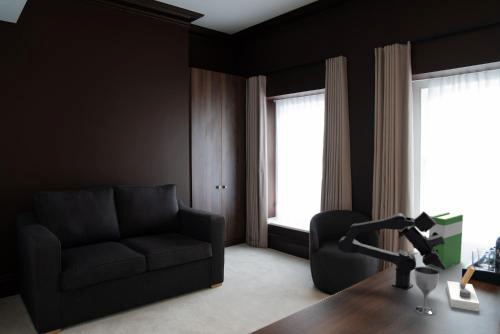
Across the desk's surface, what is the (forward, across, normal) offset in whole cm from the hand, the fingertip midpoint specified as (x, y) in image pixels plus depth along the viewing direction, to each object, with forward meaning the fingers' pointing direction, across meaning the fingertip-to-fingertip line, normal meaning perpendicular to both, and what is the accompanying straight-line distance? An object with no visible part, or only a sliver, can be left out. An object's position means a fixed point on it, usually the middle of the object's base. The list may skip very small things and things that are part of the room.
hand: (445, 269), depth 152 cm
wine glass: (+2, -21, +12) cm, 24 cm away
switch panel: (+11, -4, +2) cm, 12 cm away
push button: (+9, -9, 0) cm, 13 cm away
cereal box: (+9, +39, +5) cm, 40 cm away
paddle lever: (+8, 0, -1) cm, 8 cm away
